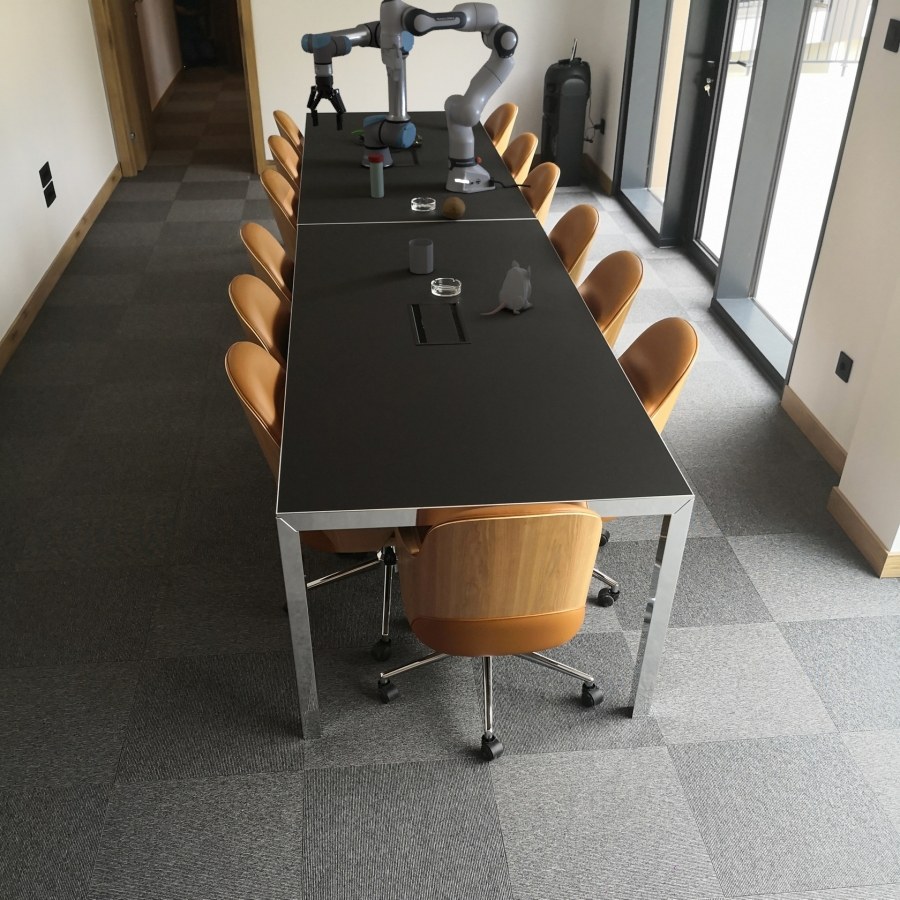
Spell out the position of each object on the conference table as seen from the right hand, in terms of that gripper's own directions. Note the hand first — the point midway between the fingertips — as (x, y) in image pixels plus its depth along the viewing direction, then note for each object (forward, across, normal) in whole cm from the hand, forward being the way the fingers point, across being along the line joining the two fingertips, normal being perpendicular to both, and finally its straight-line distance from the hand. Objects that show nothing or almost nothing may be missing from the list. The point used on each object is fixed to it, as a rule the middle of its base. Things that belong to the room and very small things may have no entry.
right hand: (392, 78), depth 361 cm
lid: (+31, 0, +9) cm, 32 cm away
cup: (+48, -93, +16) cm, 106 cm away
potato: (+48, -41, -13) cm, 64 cm away
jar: (+48, 0, +9) cm, 49 cm away
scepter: (+48, +95, -16) cm, 107 cm away
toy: (+48, -138, +2) cm, 146 cm away
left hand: (+20, +10, +27) cm, 35 cm away
